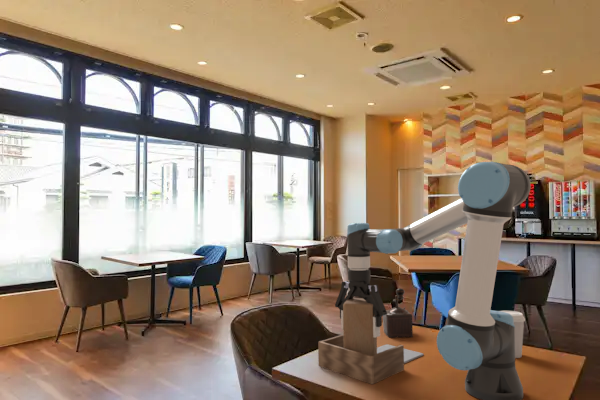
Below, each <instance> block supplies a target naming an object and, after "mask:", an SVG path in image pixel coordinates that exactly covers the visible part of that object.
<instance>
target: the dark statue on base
mask: <svg viewBox="0 0 600 400" xmlns="http://www.w3.org/2000/svg"><path fill="white" fill-rule="evenodd" d="M405 292H406V291H405V289H403V288H401V287H400V288H397V289H396V290H395V293H396V295H395V296H394V297H395V298H393V299H392V302H395V307H392V308H389V309H386V311H387V314H386V315H383V316H382V322H383V323H382V325H383V333H384V334H385V335H386V336H387V337H388V338H391V339H392V338H398V339H399V338H413V337H414V335H413V333H414V330H413V315H412V313H411V312H409V310H407V309H406V306H404V307H400V306H399V301H402V300H404V299H405V297H404V294H405Z"/></svg>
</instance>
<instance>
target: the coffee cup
mask: <svg viewBox="0 0 600 400" xmlns="http://www.w3.org/2000/svg"><path fill="white" fill-rule="evenodd" d="M499 311H500V312H505V313H509V314H511V315H512V316H513V319H514V326H515V328H514V329H515V359H519V358H522V355H523V341H524V324H525V322H526V318H525V315H524V314H523V313H522V312H519V311H515V310H499Z"/></svg>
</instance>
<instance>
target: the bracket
mask: <svg viewBox="0 0 600 400" xmlns="http://www.w3.org/2000/svg"><path fill="white" fill-rule="evenodd" d="M317 344H318V346H317V347H318V348H317V350H318V352H317V353H318V355H317V356H318V366H319V367H322V368H325V369H327V370H330V371H332V372H336V373H339V374H340V375H344V376H347V377H350V378H353V379H356V380H358V381H361V382H365V383H367V384H370V385H374V384H377V383H379V382H380V381H383V380H384V379H388V378H389V377H391V376H393V375H396V374H399V373H400V372H403V371H404V370H405V364H404V349H405V348H404V344H399V345H396V347H393V348H391V349H388V350H385V351H383V352H380V353H378V354H375V355H372V356H369V355H366V354H363V353H359V352H356V351H352V350H349V349H345V348H344V334H340V335H336V336H334V337H329V338H327V339H323V340H319V341H318V343H317Z"/></svg>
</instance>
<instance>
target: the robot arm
mask: <svg viewBox="0 0 600 400" xmlns="http://www.w3.org/2000/svg"><path fill="white" fill-rule="evenodd" d="M531 186H532V185H531V179H530V177H529V176H528V174H527V173H526V172H525V171H524V170H523V169H522V168H520V167H519V166H517V165H512V164H505V163H501V162H496V161H481V162H477V163H474V164H471V165H470V166H468V167H467V168H466V169H465V170H464V171H463V172H462V174H461V176H460V178H459V179H458V184H457V190H458V191H457V192H458V196H459V197H460V198H458V199H457V200H455V201H453V202H450V203H449V204H447V205H445V206H443V207H441V208H439V209H437V210H436V211H433V212H432V213H429V214H427V215H426V216H424V217H422V218H420V219H418V220H416V221H414V222H412V223H411V224H408V225H406V226H404V227H401V228H399V227H398V228H377V229H375V228H374V229H372V228H371V227H370V224H369V223H368V222H356V223H355V222H353V223H352V222H351V223H348V224H347V230H346V231H347V233H346V242H347V268H348V270H347V280H344V281H342V282H341V288H340V290H339V293H338V296H337V299H336V301H335V303H334V306H335V308H338V309H339V319H340V320H341V323H340V324H341V326H340V327H341V328H340V329H341V330H342V331H343V304H344V303H345V301H346V300H348V299H353V298H363V299H364V300H366V302H367V303H371V304H373V313H374V315H375V316H374V317H373V337H375V338H376V337H377V338H378V337H380V336H381V327H382V325H383V323H382V322H383V315H386V314H387V311H386V310H387V309H386V307H385V304H384V301H383V300H382V297H381V294H380V292H379V291H380V290H379V285H378V284H373V285H371V284H370V281H371V269H370V268H371V253H378V254H379V253H381V254H385V255H386V254H387V255H388V254H397V253H398V252H402V251H405V252H406V251H413V250H417V249H419V248H421V247H422V246H423V244H425V243H427V242H429V241H432V240H434V239H436V238H438V237H440V236H442V235H444V234H448V233H450V232H451V231H454V230H456V229H458V228H461V227H462V226H464V225H466V229H465V236H464V244H463V250H462V251H463V252H462V258H461V263H460V264H461V265H460V270H459V271H460V272H459V279H458V286H457V291H456V292H457V293H456V298H455V304H454V305H455V306H454V307H452V308H450V309H449V310H448V312H447V317H446V318H447V320H446V325H444V326H443V327H441V329H440V330H439V331H438V333H437V336H436V348H437V350H438V352H439V354H440V355H441V357H442V359H443V360H444V362H446V363H447V364H448V365H449V366H450V367H452V368H454V369H456V370H459V371H467V373H466V377H465V379H464V390H465V391H466V393H468V395H470V396H472V397H474V398H476V399H478V400H523V399H524V387H523V385H522V382H521V379H520V376H519V373H518V371H517V368H516V358H515V329H514V328H515V326H514V319H513V316H512V315H511V314H509V313H505V312H500V311H501V310H492V308H491V307H492V302H493V296H494V288H495V282H496V276H497V268H498V264H499V259H500V258H499V257H500V250H501V244H502V237H503V233H504V232H503V230H504V224H505V223H506V222H508V221H510V219H512V217H513V209H514V208H515V207H518V206H519V205H521V204H522V203H523V202H525V201H526V200H527V198H528V197H529V194H530V191H531Z"/></svg>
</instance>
